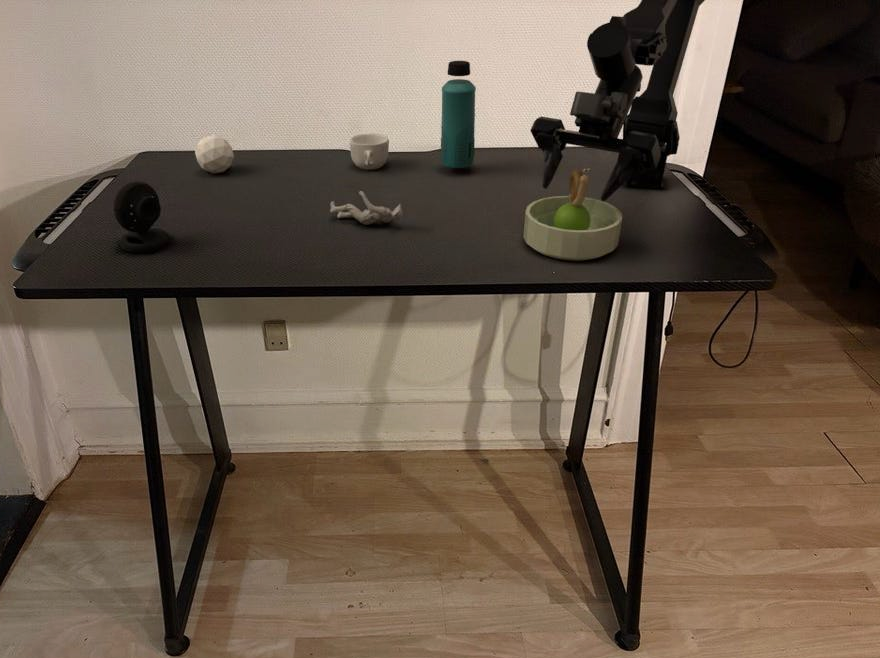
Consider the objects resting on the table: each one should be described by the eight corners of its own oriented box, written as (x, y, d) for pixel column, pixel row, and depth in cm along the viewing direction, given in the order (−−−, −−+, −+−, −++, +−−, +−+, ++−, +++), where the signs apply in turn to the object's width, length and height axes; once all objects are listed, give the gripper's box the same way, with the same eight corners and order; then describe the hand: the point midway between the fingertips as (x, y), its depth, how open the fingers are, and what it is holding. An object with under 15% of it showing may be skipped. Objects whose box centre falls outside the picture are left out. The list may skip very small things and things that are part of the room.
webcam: (142, 258, 110) (128, 195, 104) (109, 248, 113) (93, 186, 108) (180, 240, 115) (168, 179, 110) (148, 230, 119) (135, 171, 113)
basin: (616, 229, 116) (621, 199, 114) (617, 267, 105) (622, 235, 102) (527, 222, 119) (530, 192, 117) (518, 258, 108) (521, 227, 105)
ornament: (196, 179, 139) (180, 140, 138) (219, 180, 146) (204, 143, 145) (224, 162, 136) (207, 122, 136) (246, 165, 143) (230, 127, 142)
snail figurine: (559, 248, 109) (569, 170, 102) (548, 231, 114) (556, 155, 108) (594, 246, 109) (606, 168, 103) (581, 229, 115) (591, 154, 108)
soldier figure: (348, 215, 125) (411, 201, 120) (348, 241, 124) (411, 228, 119) (325, 196, 118) (390, 180, 113) (324, 223, 117) (390, 208, 112)
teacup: (351, 160, 147) (350, 133, 144) (389, 159, 147) (389, 132, 144) (349, 176, 139) (347, 149, 136) (389, 176, 139) (388, 148, 136)
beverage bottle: (471, 176, 138) (476, 65, 127) (437, 175, 139) (438, 64, 128) (475, 165, 143) (480, 58, 132) (442, 164, 144) (444, 57, 133)
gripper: (541, 59, 106) (500, 154, 104) (669, 74, 96) (625, 179, 95) (559, 103, 115) (521, 191, 114) (676, 121, 106) (637, 216, 105)
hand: (572, 193), depth 107 cm, fingers open, 9 cm apart
